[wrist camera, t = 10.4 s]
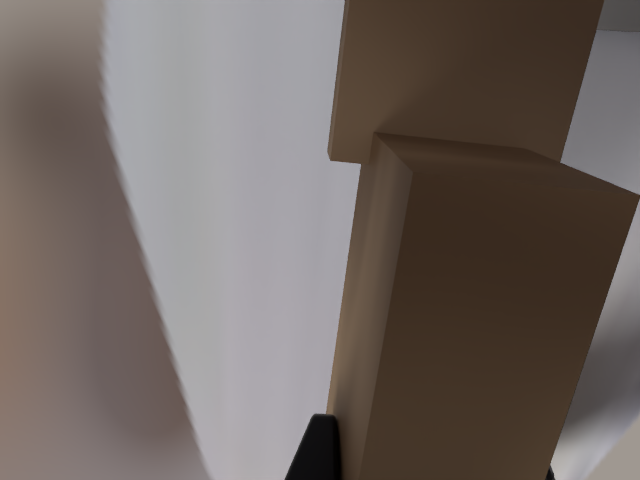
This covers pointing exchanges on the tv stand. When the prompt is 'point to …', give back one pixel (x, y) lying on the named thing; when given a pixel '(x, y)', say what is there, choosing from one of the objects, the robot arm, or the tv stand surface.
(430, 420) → the brown wooden bar
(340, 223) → the tv stand surface
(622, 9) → the mat
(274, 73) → the tv stand surface
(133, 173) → the tv stand surface
